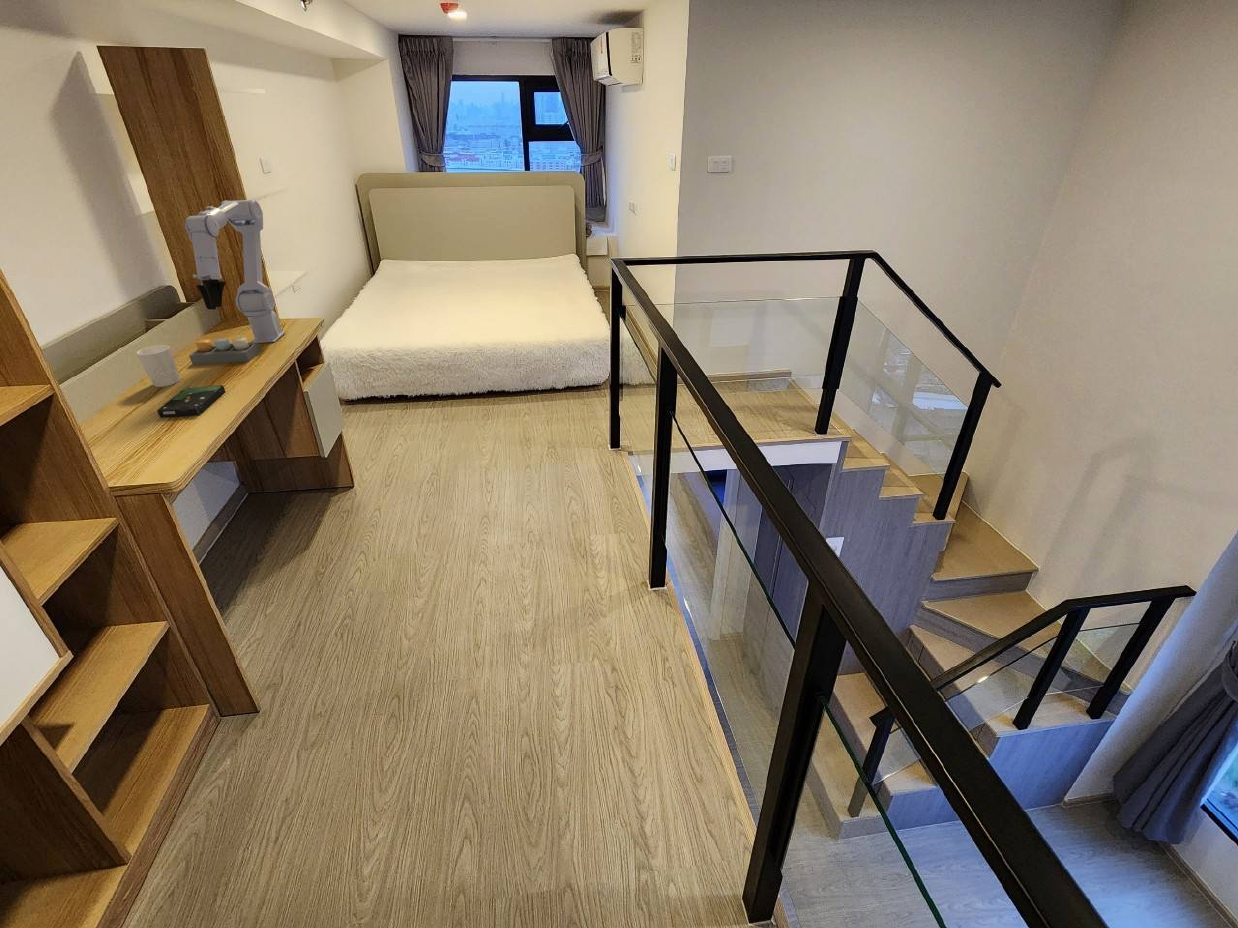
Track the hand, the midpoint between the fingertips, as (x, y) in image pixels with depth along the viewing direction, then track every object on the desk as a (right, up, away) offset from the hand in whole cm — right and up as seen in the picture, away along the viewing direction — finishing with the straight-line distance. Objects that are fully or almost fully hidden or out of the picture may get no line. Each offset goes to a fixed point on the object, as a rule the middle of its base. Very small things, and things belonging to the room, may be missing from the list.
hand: (214, 308), depth 183 cm
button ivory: (0, -9, +14) cm, 17 cm away
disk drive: (+4, -30, -14) cm, 33 cm away
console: (-5, -12, +15) cm, 20 cm away
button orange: (-11, -10, +13) cm, 20 cm away
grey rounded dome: (-6, -9, +14) cm, 17 cm away
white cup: (-13, -22, 0) cm, 26 cm away
